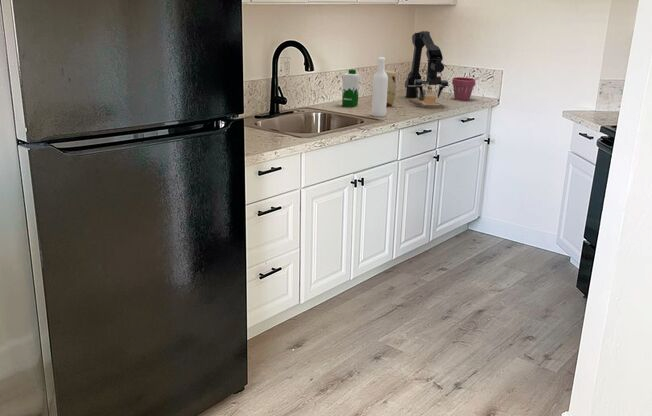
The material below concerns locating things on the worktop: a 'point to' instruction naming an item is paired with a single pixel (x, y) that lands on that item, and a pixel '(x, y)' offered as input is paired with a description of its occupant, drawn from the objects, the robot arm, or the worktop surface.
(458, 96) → the plant pot
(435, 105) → the post board
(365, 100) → the worktop surface
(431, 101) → the orange tan square block
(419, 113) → the worktop surface
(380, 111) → the bottle
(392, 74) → the food model
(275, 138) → the worktop surface
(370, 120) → the worktop surface
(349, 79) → the milk carton
